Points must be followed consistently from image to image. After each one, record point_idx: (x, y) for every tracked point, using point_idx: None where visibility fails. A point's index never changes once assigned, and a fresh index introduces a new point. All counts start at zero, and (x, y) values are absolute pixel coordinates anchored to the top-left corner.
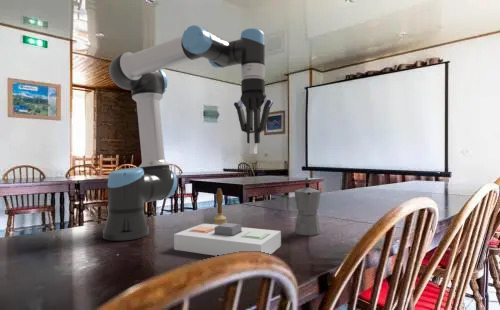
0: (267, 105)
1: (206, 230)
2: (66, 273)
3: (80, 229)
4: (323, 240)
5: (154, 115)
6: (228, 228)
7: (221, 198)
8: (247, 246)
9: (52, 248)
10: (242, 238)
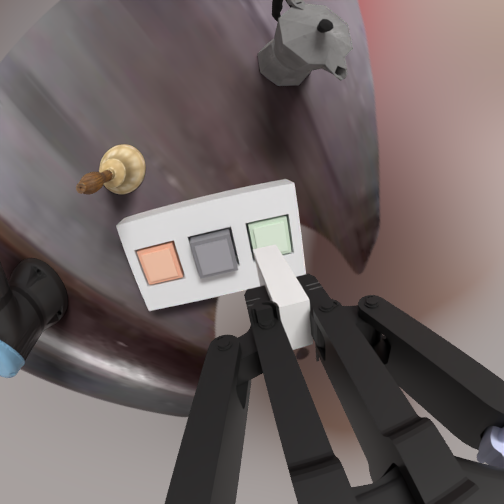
0: (487, 430)
1: (176, 271)
2: (150, 388)
3: None
4: (334, 105)
5: None
6: (229, 271)
7: (101, 183)
8: None
9: (57, 362)
10: None
